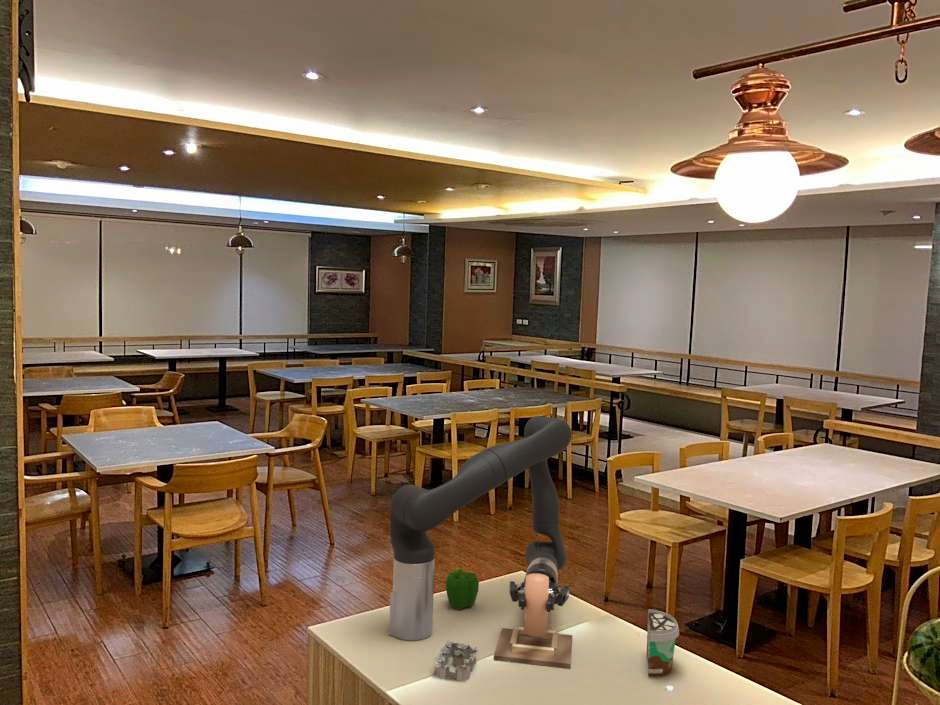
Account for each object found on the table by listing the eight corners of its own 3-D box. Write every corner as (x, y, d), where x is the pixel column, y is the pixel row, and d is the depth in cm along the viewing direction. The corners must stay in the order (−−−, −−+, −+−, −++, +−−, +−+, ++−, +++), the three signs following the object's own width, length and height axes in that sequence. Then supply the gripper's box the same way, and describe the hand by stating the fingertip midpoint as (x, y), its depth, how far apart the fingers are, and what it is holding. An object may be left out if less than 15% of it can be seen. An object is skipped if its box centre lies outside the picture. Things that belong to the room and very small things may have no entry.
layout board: (493, 660, 153) (494, 648, 153) (501, 632, 167) (502, 621, 167) (570, 668, 151) (570, 656, 151) (572, 639, 165) (572, 628, 164)
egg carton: (467, 684, 143) (467, 664, 143) (430, 678, 145) (431, 658, 145) (480, 660, 154) (481, 641, 153) (446, 654, 156) (447, 636, 155)
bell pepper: (466, 596, 188) (468, 558, 187) (483, 608, 181) (484, 568, 180) (438, 602, 183) (439, 563, 183) (454, 614, 176) (455, 573, 176)
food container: (679, 683, 146) (682, 635, 145) (648, 679, 147) (650, 631, 147) (675, 656, 158) (677, 611, 158) (646, 652, 159) (648, 608, 159)
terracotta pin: (523, 635, 157) (524, 580, 156) (525, 625, 162) (526, 572, 161) (546, 637, 156) (548, 582, 155) (547, 627, 161) (549, 574, 160)
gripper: (511, 560, 174) (503, 586, 157) (572, 565, 171) (570, 592, 155) (510, 590, 174) (502, 620, 157) (571, 596, 172) (568, 626, 155)
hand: (535, 606), depth 156 cm, fingers closed on terracotta pin, 5 cm apart
